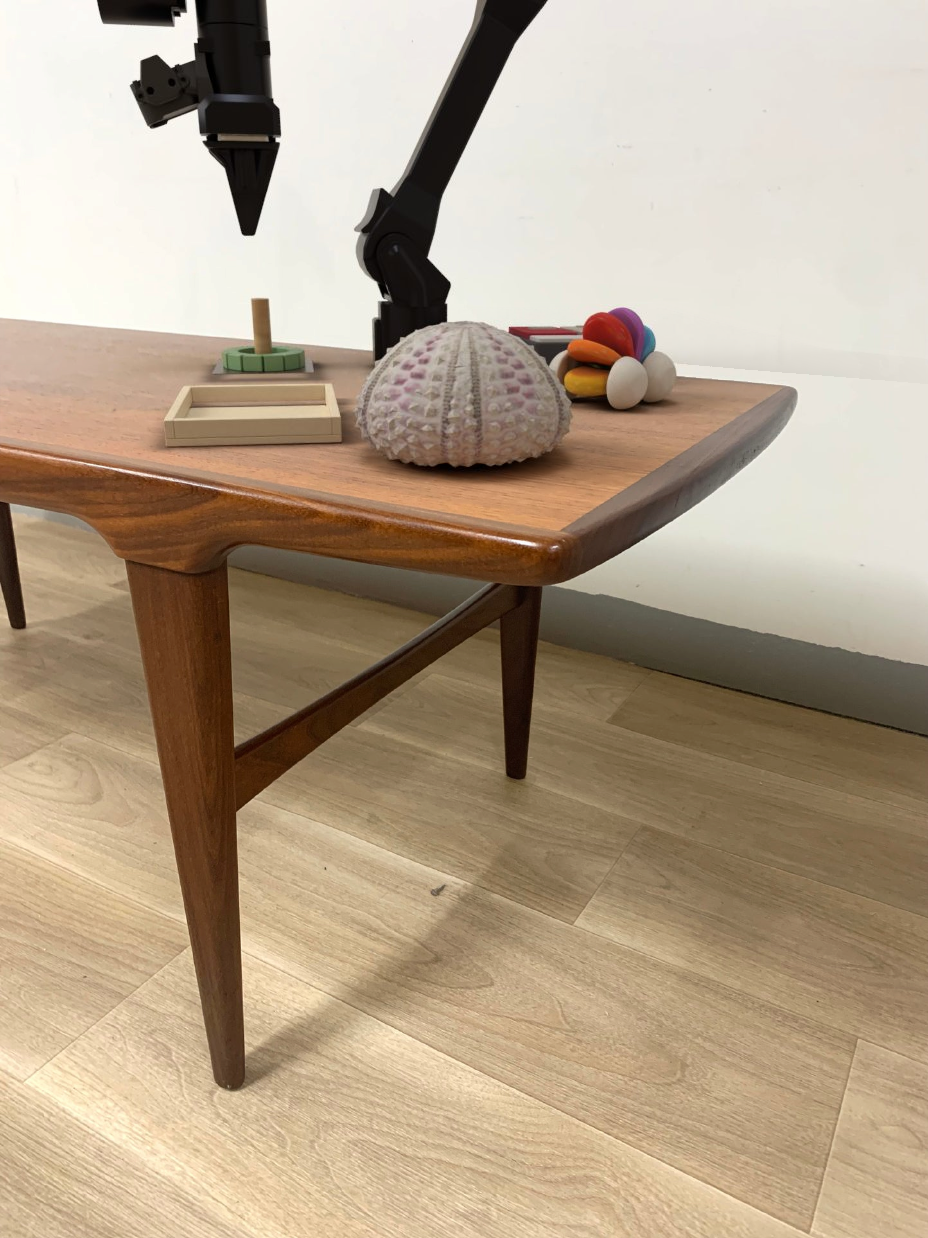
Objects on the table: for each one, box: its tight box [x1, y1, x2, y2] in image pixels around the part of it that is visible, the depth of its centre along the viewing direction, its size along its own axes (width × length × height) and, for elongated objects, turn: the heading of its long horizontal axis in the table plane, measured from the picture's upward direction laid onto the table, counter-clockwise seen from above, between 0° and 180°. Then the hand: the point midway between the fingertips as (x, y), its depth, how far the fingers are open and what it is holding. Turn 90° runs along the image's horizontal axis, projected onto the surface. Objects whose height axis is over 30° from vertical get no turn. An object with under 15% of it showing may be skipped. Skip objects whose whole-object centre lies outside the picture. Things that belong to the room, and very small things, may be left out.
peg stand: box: [211, 297, 315, 375], centre depth 88 cm, size 9×9×7 cm
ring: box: [221, 344, 306, 372], centre depth 89 cm, size 8×8×1 cm
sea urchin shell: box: [352, 320, 574, 468], centre depth 58 cm, size 13×14×8 cm
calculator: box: [507, 324, 584, 366], centre depth 91 cm, size 11×4×15 cm
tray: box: [162, 383, 343, 448], centre depth 68 cm, size 11×13×2 cm
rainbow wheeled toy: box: [549, 306, 678, 410], centre depth 76 cm, size 8×10×7 cm
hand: (248, 234), depth 84 cm, fingers open, 9 cm apart
